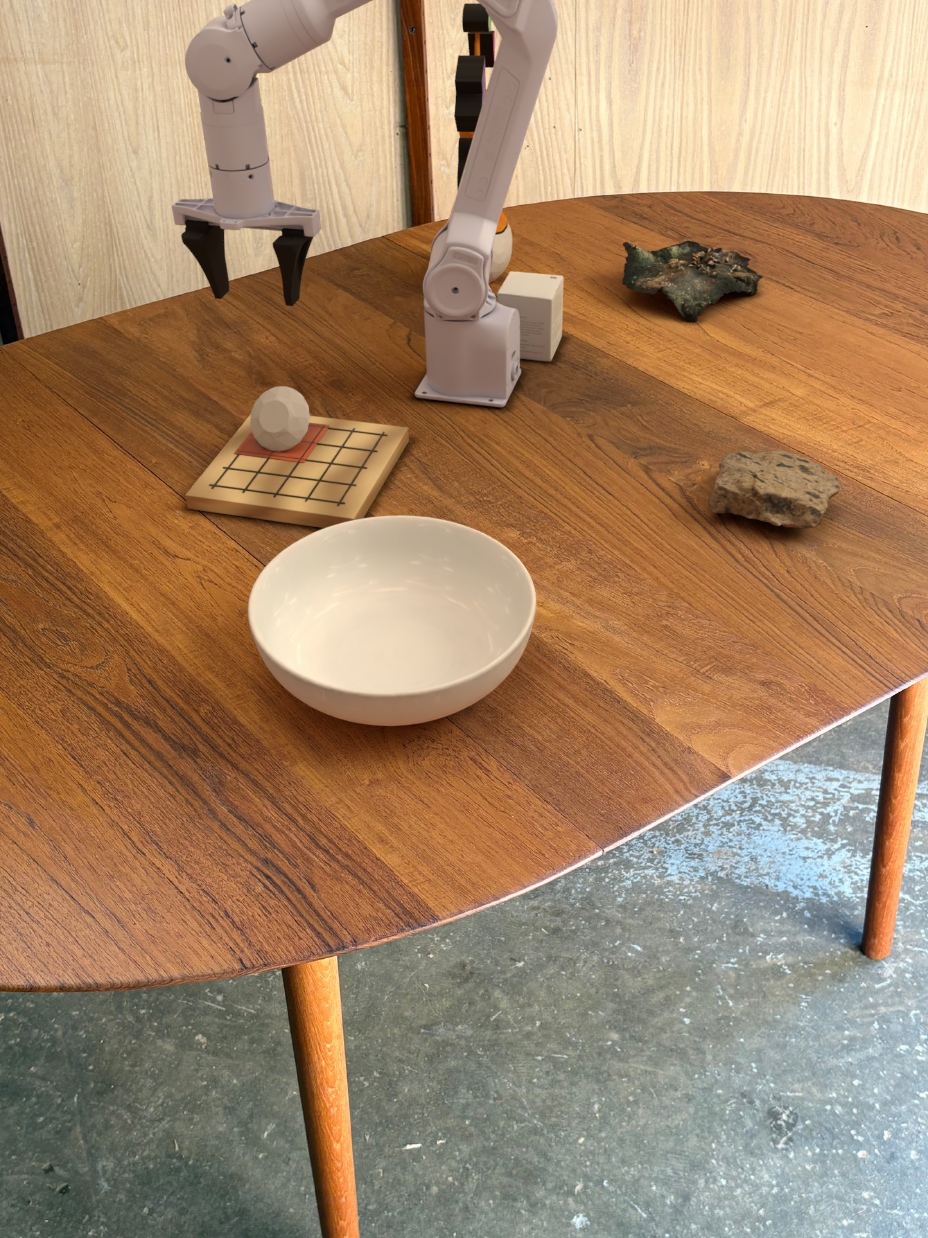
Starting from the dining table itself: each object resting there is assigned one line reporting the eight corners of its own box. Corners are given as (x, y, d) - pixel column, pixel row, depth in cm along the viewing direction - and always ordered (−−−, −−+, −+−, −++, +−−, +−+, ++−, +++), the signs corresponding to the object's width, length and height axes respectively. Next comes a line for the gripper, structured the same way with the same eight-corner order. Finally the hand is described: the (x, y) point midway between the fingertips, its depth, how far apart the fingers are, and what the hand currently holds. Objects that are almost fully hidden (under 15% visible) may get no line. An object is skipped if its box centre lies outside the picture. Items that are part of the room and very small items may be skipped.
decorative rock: (669, 213, 152) (785, 227, 145) (667, 262, 155) (780, 278, 148) (598, 256, 139) (722, 273, 132) (597, 308, 142) (718, 328, 135)
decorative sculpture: (505, 316, 139) (506, 33, 120) (436, 314, 140) (426, 33, 121) (517, 248, 155) (519, -13, 136) (454, 246, 155) (448, -13, 137)
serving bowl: (309, 802, 82) (298, 728, 78) (228, 624, 97) (215, 554, 93) (583, 712, 88) (587, 639, 84) (467, 558, 103) (465, 489, 99)
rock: (848, 485, 110) (857, 444, 108) (817, 550, 103) (825, 507, 100) (735, 460, 114) (740, 420, 112) (697, 520, 107) (701, 479, 104)
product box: (509, 332, 136) (509, 269, 132) (563, 337, 135) (565, 274, 130) (496, 356, 132) (495, 292, 127) (551, 362, 130) (552, 298, 126)
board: (409, 440, 118) (408, 426, 117) (355, 532, 106) (353, 517, 105) (256, 421, 122) (254, 407, 121) (187, 508, 110) (184, 494, 109)
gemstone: (327, 393, 117) (305, 382, 112) (325, 457, 117) (303, 448, 112) (269, 395, 119) (245, 384, 114) (267, 458, 119) (243, 450, 114)
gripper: (148, 169, 112) (173, 307, 121) (295, 181, 109) (310, 322, 118) (181, 145, 118) (203, 279, 126) (323, 155, 114) (335, 292, 123)
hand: (257, 298), depth 122 cm, fingers open, 7 cm apart
